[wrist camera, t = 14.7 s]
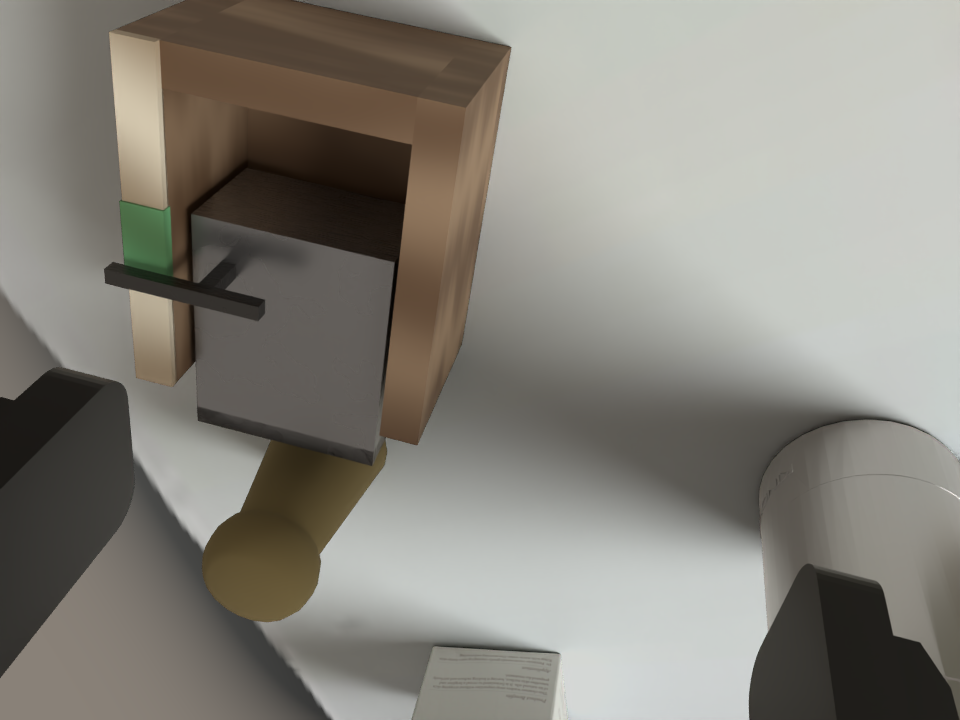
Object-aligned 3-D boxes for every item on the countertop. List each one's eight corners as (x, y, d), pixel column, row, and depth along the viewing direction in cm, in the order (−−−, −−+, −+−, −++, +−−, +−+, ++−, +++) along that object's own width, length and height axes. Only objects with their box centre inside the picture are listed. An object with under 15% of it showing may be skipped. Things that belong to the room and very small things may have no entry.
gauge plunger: (404, 400, 43) (353, 504, 37) (203, 349, 44) (120, 442, 38) (429, 209, 37) (373, 294, 31) (198, 156, 38) (99, 227, 32)
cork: (301, 489, 50) (212, 643, 41) (262, 400, 48) (157, 545, 38) (401, 482, 49) (330, 642, 40) (366, 389, 46) (282, 539, 37)
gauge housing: (461, 344, 43) (414, 451, 36) (223, 285, 44) (133, 378, 37) (511, 47, 35) (463, 111, 28) (220, -15, 36) (105, 32, 29)
